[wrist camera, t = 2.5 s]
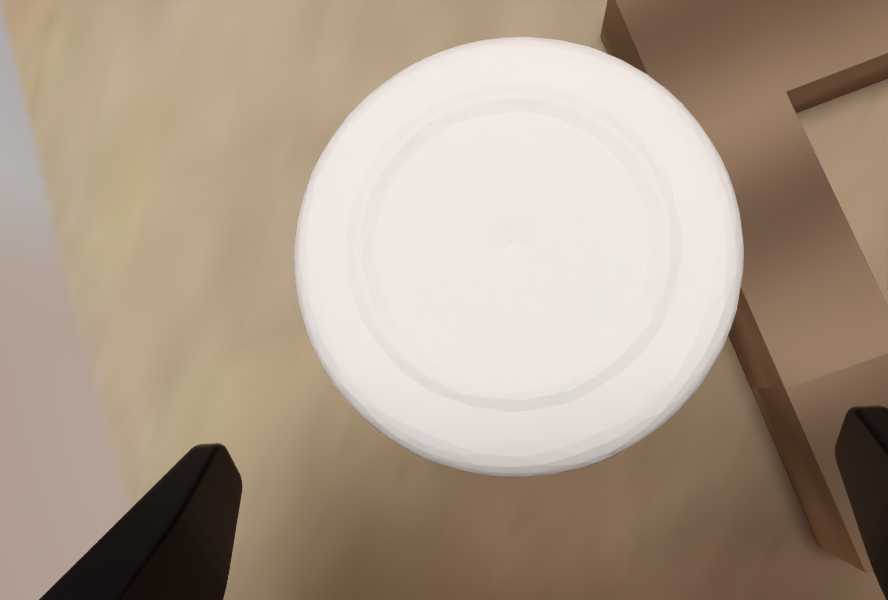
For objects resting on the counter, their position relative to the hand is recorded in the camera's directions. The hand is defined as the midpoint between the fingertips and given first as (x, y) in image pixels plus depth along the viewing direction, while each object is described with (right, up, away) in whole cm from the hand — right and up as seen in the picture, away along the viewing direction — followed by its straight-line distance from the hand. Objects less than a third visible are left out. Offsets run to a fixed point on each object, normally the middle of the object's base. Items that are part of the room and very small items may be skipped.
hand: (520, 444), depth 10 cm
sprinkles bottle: (+1, +1, +10) cm, 10 cm away
